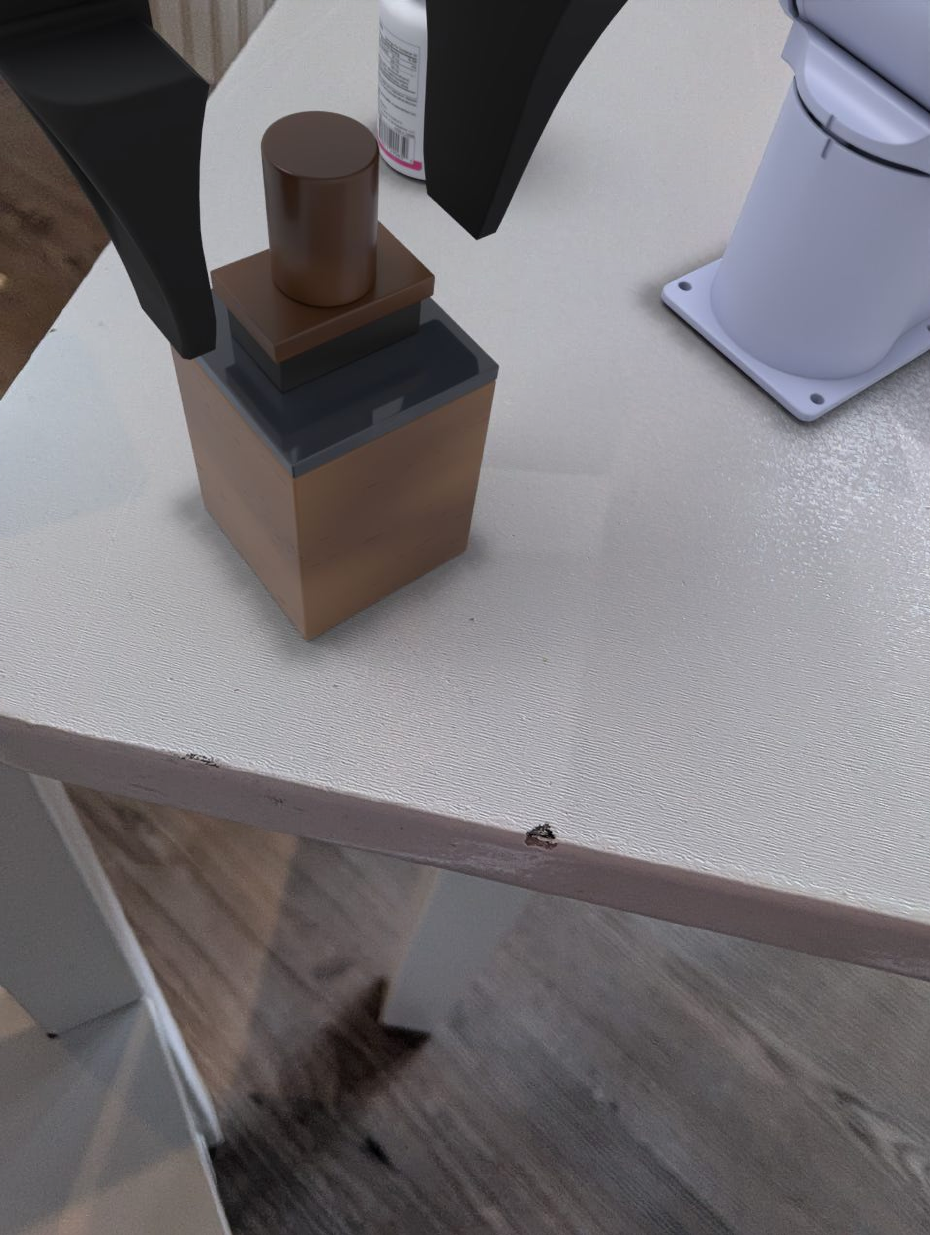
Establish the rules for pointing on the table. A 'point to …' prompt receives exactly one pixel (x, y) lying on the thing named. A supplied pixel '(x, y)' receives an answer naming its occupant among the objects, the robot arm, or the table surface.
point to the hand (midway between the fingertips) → (329, 266)
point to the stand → (338, 502)
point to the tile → (349, 389)
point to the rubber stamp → (321, 256)
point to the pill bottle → (402, 84)
